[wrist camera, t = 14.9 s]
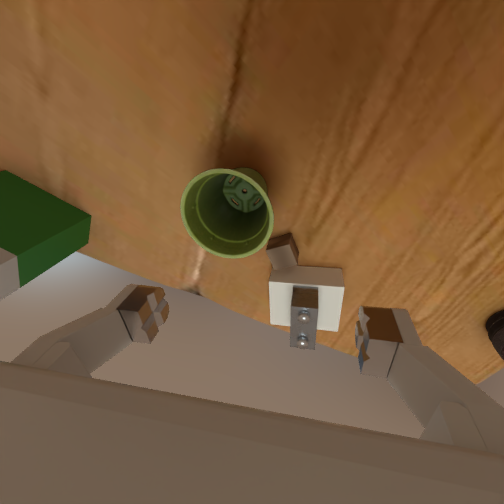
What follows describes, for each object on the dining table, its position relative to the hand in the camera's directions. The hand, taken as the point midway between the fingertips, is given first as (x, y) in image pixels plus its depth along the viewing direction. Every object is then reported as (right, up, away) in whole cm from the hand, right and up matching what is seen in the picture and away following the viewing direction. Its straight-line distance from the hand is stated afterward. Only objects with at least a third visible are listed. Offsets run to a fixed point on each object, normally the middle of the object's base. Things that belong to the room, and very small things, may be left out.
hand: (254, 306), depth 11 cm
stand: (+10, -5, +38) cm, 39 cm away
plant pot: (-1, +12, +30) cm, 33 cm away
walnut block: (+6, +3, +34) cm, 35 cm away
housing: (+9, -7, +33) cm, 35 cm away
